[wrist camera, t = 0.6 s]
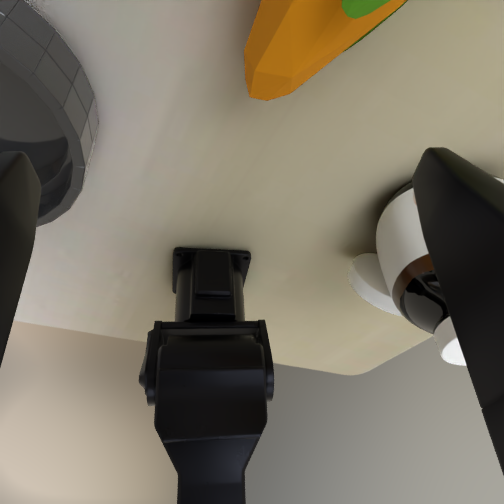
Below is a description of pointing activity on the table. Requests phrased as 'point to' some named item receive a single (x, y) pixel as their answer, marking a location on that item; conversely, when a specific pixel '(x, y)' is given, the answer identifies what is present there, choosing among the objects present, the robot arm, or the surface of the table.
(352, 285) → the spread jar
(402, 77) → the table surface
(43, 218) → the pan
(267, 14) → the corn
